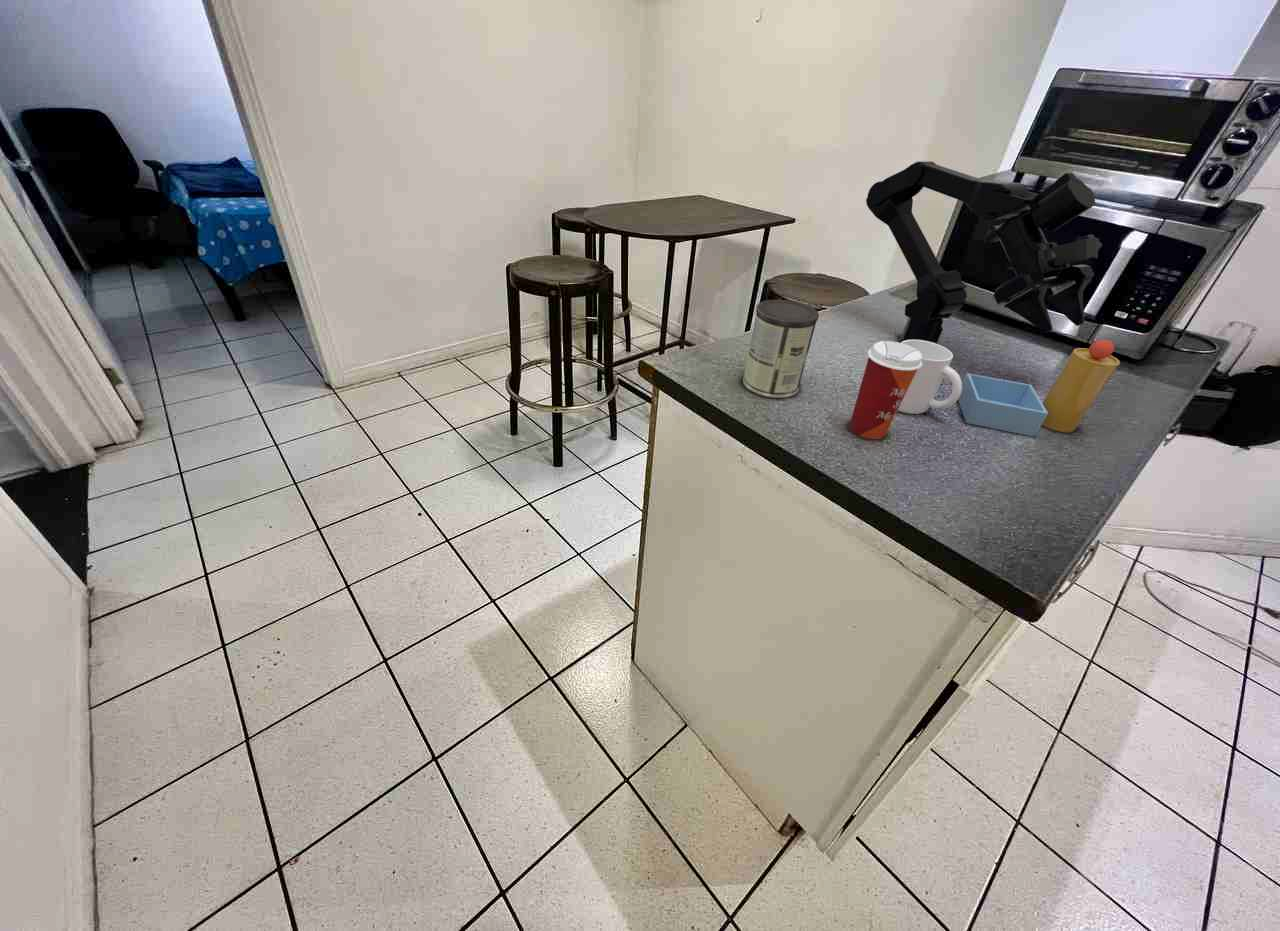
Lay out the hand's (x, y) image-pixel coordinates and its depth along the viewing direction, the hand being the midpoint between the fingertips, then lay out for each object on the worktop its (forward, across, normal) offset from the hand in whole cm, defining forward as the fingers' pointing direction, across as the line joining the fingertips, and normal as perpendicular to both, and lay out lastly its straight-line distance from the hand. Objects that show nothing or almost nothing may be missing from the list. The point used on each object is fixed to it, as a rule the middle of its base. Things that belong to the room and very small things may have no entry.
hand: (1065, 327), depth 89 cm
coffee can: (-8, -43, +24) cm, 50 cm away
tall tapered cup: (+15, -4, +6) cm, 16 cm away
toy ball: (+6, -4, -5) cm, 9 cm away
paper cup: (+6, -38, +13) cm, 40 cm away
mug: (+5, -24, +14) cm, 28 cm away
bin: (+10, -12, +10) cm, 18 cm away
